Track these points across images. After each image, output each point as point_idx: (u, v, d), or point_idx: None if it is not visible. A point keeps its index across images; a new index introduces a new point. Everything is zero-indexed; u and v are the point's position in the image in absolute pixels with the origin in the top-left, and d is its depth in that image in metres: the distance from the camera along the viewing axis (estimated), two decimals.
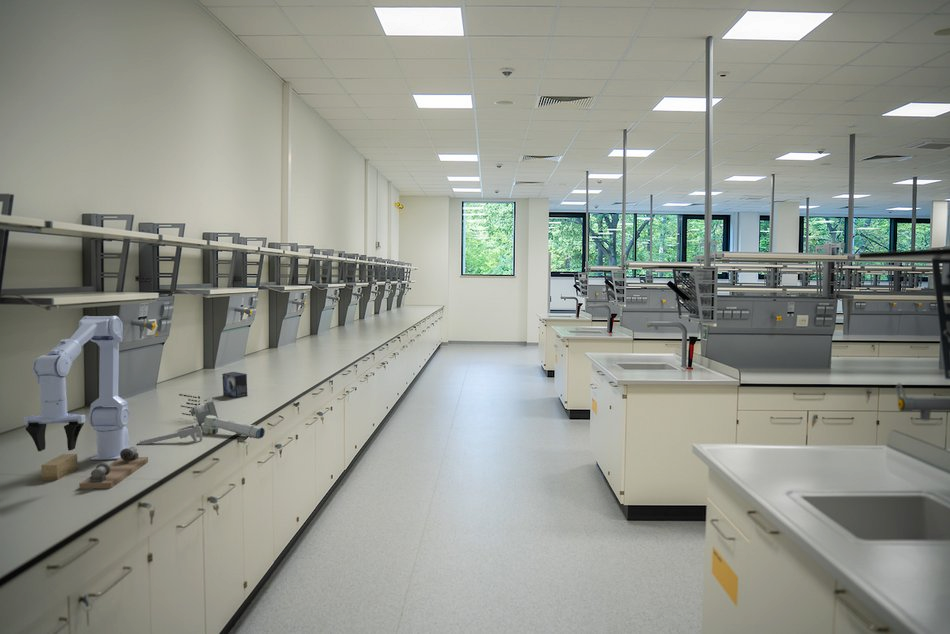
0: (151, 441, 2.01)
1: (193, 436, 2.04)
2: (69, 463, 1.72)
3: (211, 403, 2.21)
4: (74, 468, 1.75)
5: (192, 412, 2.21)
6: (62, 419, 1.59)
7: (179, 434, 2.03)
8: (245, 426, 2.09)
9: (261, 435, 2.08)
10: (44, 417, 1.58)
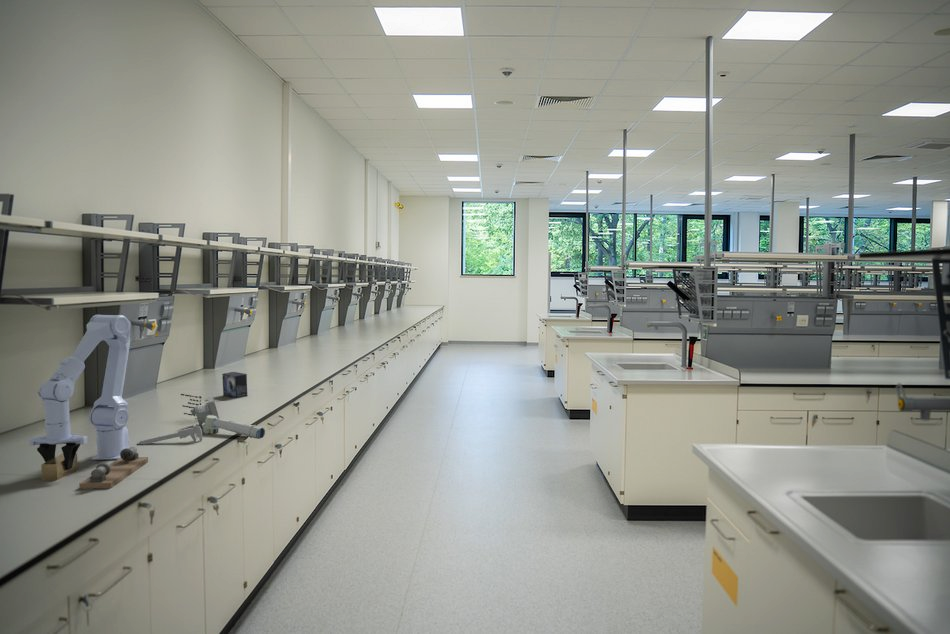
0: (151, 441, 2.01)
1: (193, 436, 2.04)
2: None
3: (212, 403, 2.21)
4: (74, 467, 1.75)
5: (193, 412, 2.21)
6: (65, 440, 1.69)
7: (179, 434, 2.03)
8: (245, 426, 2.09)
9: (261, 435, 2.08)
10: (48, 439, 1.68)
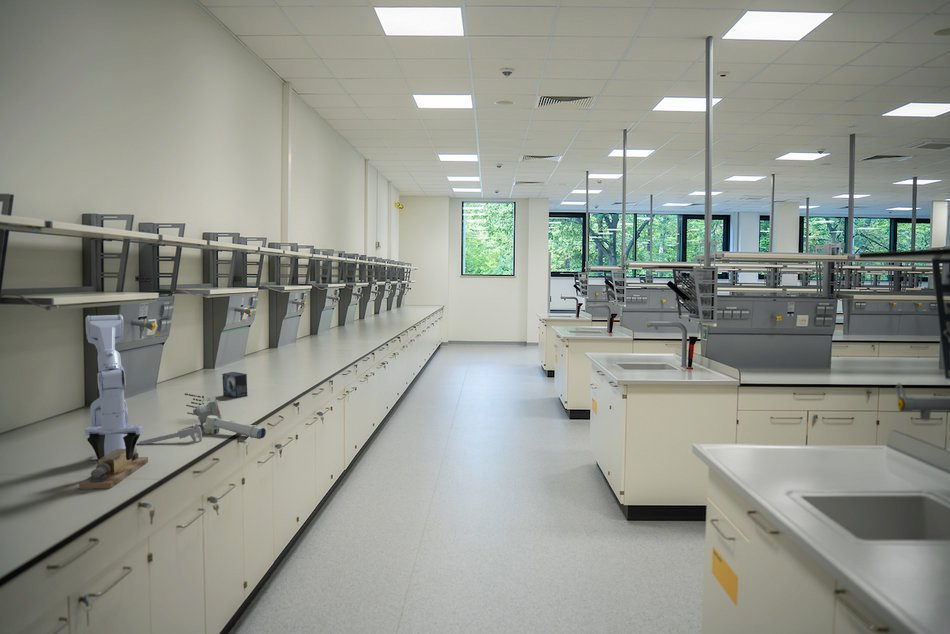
0: (150, 441, 2.01)
1: (192, 436, 2.04)
2: (124, 457, 1.72)
3: (213, 403, 2.21)
4: (128, 463, 1.74)
5: (195, 412, 2.22)
6: (121, 430, 1.68)
7: (179, 434, 2.03)
8: (246, 426, 2.09)
9: (262, 435, 2.08)
10: (105, 428, 1.67)
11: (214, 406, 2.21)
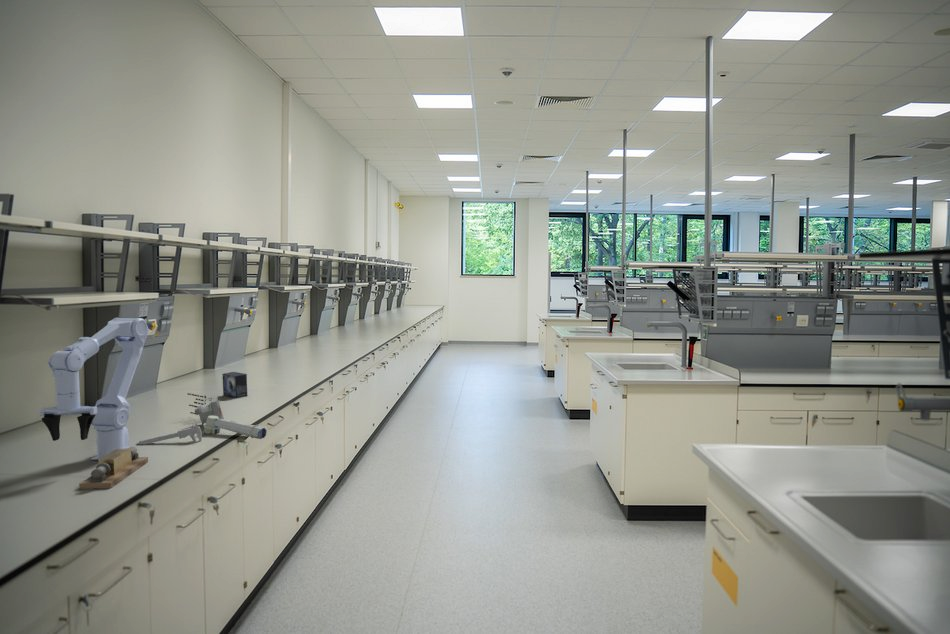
0: (150, 441, 2.01)
1: (192, 436, 2.04)
2: (124, 457, 1.72)
3: (214, 403, 2.21)
4: (128, 463, 1.74)
5: (196, 412, 2.22)
6: (75, 410, 1.70)
7: (179, 434, 2.03)
8: (247, 426, 2.09)
9: (263, 435, 2.08)
10: (59, 408, 1.69)
11: (215, 406, 2.21)
